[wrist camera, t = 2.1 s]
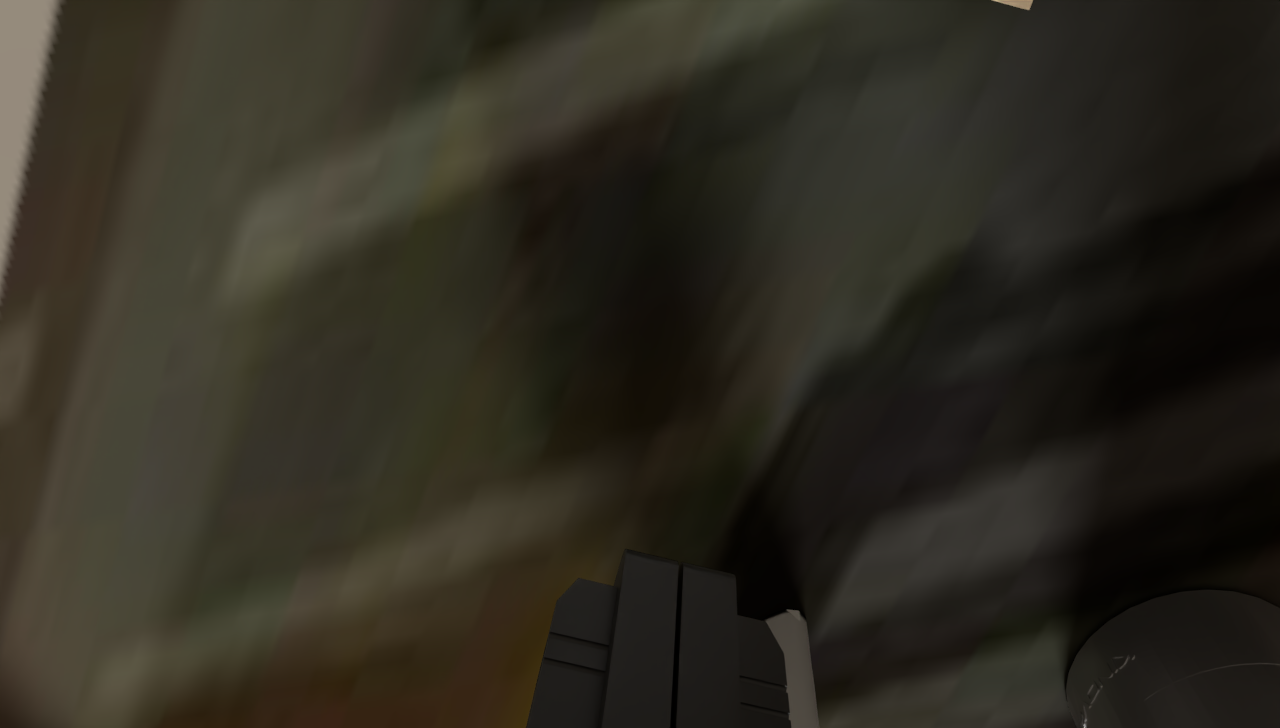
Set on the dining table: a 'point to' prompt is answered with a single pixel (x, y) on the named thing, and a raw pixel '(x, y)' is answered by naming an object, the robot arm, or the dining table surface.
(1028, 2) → the bay
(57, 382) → the dining table surface
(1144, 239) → the dining table surface
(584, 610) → the robot arm
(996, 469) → the dining table surface
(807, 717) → the tall pale column
